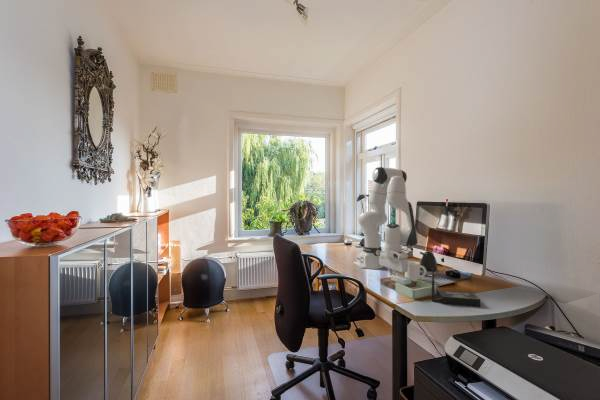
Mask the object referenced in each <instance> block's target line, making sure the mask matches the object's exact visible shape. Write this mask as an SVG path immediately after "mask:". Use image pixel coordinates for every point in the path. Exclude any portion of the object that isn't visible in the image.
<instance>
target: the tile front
mask: <svg viewBox="0 0 600 400" xmlns="http://www.w3.org/2000/svg"><path fill="white" fill-rule="evenodd" d="M397 282H399V283H401V284H404V285H405V284H411V279H410V278H407V277H405V276H404V277H399V278H397Z"/></svg>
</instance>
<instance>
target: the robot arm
mask: <svg viewBox="0 0 600 400" xmlns="http://www.w3.org/2000/svg"><path fill="white" fill-rule="evenodd" d="M407 179H408V176H407V173H406V171H404V170H402V169H397V168H393V167H383V166H378V167H376V168H375V169H374V170H373V172H372V180H373V183H372V185H371V189H370V194H369V198H368V203H369V204H370V211H369V210H368V211H364V212H362V213H360V214H359V215H358V218H357V222H358V224H359V225H360V226H361V228H362V231H363V236H364V237H363V238H364V246H362V251H361V252H359V253H358V254H357V256H356V260H354V261H353V264H354V265H356V266H358V267H359V268H360V269H361V268H362V269H371V270H379V269H383V268H387V271H388V273H389V277H391V275H396V274H398V272H399V273H401V274H405V272H407V271H408V261H409V260H408V258H409V254H407V252H405V251H404V250H402V249H401V248H402V246H407V247H414V246H415V245H417V244H418V242H419V235H418V231H417V228H416V227H417V226H416V221H415V216H414V210H413V206H412V203H411V202H410V201H408V198H407V195H406V193H407V191H406V190H407V187H406V182H407ZM386 202H387V204H388V205H389V206H390V207H392V208H393V209H396V210H398V211H401V212H403V214H405V215H406V220H407V225H408V228H401V226H400V224H398V223H388V224H387V225H385V230H384V232H383V241H384V249H382V243H381V242H382V239H381V238H382V236H381V234H380V233H379V231H378V227H380V226H383V225H384V224H385V223H386V222H387V221H388V216H387V214H386Z"/></svg>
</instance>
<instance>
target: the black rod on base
mask: <svg viewBox="0 0 600 400" xmlns="http://www.w3.org/2000/svg"><path fill="white" fill-rule="evenodd" d="M431 284H432V296H431V302H440V303H441V305H452V306H462V307H463V306H464V307H475V308H477V307H478V308H480V307H481V299H480V298H479V297H478V296H477V295H476V293H474V292H473V291H458V290H457V291H456V290H455V291H454V290H453V291H452V290H445V289H444V290H443V289H438V288H437V295H436V297H437V298H435V295H434V285H435V275H434V267H433V275H432V276H431Z"/></svg>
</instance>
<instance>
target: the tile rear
mask: <svg viewBox="0 0 600 400" xmlns="http://www.w3.org/2000/svg"><path fill="white" fill-rule="evenodd" d="M390 277H391V280H394V281H396V282H397V278H399V277H405V275H401V274H398V273H396V275H391V276H390Z"/></svg>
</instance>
